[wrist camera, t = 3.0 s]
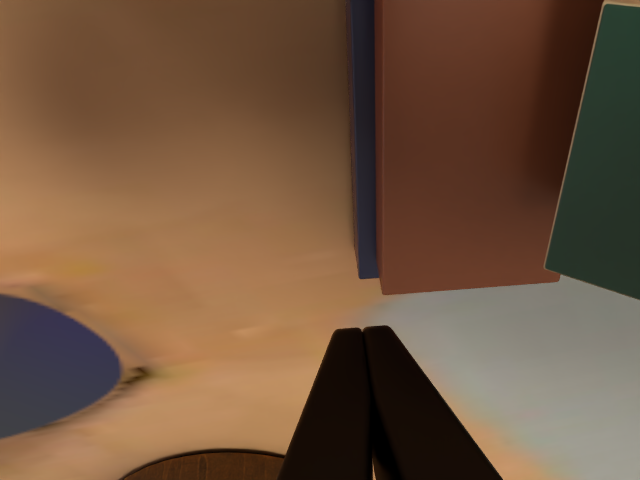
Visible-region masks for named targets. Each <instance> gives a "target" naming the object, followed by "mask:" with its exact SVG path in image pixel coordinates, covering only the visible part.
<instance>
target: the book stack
mask: <svg viewBox="0 0 640 480" xmlns="http://www.w3.org/2000/svg"><path fill="white" fill-rule="evenodd" d="M603 2H604V0H345V4H346V31H347V58H348V85H349V112H350V139H351V166H352V193H353V220H354V247H355V254H356V261H357V269H358V276H359V278H360V279H370V278H379V279H380V284H381V290H382V294H383V295H393V294H406V293H419V292H432V291H445V290H458V289H471V288H484V287H497V286H510V285H523V284H537V283H550V282H558V281H559V279H560V275H561V274H559V273H555V272H552V271H549V270H546V269H544V267H543V266H544V261H545V257H546V252H547V248H548V244H549V239H550V235H551V230H552V226H553V221H554V217H555V212H556V208H557V203H558V199H559V195H560V190H561V186H562V181H563V177H564V172H565V168H566V163H567V159H568V154H569V150H570V146H571V141H572V137H573V132H574V128H575V123H576V119H577V114H578V110H579V106H580V101H581V97H582V92H583V88H584V83H585V79H586V74H587V70H588V65H589V61H590V57H591V52H592V48H593V43H594V39H595V34H596V30H597V25H598V21H599V16H600V12H601V8H602V3H603Z"/></svg>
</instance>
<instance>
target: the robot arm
mask: <svg viewBox="0 0 640 480" xmlns="http://www.w3.org/2000/svg"><path fill="white" fill-rule="evenodd" d="M372 458H373V460H372ZM373 466H374V472H375V477H376V480H503V479H502V477H501V476H500V475H499V473H498V472H497V471H496V469H495V468H494V467H493V465H492V464H491V463H490V461H489V460H488V459H487V457H486V456H485V454H484V453H483V452H482V450H481V449H480V448H479V446H478V445H477V444H476V442H475V441H474V440H473V438H472V437H471V436H470V434H469V433H468V431H467V430H466V429H465V427H464V426H463V425H462V423H461V422H460V421H459V419H458V418H457V417H456V415H455V414H454V412H453V411H452V410H451V408H450V407H449V406H448V404H447V403H446V402H445V400H444V399H443V398H442V396H441V395H440V394H439V392H438V391H437V389H436V388H435V387H434V385H433V384H432V383H431V381H430V380H429V379H428V377H427V376H426V375H425V373H424V372H423V371H422V369H421V368H420V366H419V365H418V364H417V362H416V361H415V360H414V358H413V357H412V356H411V354H410V353H409V352H408V350H407V349H406V347H405V346H404V345H403V343H402V342H401V341H400V339H399V338H398V337H397V335H396V334H395V333H394V331H393V330H392V329H391V328H390V327H389V326H385V325H384V326H371V327H365V328H364V329H363V331H362V330H361V329H360V328H344V329H337V330H335V331H334V333H333V335H332V337H331V340H330V342H329V345H328V347H327V350H326V353H325V355H324V358H323V360H322V363H321V365H320V368H319V371H318V373H317V376H316V378H315V381H314V383H313V386H312V389H311V391H310V394H309V396H308V399H307V401H306V404H305V407H304V409H303V412H302V414H301V417H300V419H299V422H298V424H297V427H296V430H295V432H294V435H293V437H292V440H291V442H290V445H289V448H288V450H287V453H286V455H285V458H284V460H283V463H282V466H281V468H280V471H279V473H278V476H277V478H276V480H373Z"/></svg>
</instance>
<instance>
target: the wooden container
mask: <svg viewBox="0 0 640 480" xmlns="http://www.w3.org/2000/svg"><path fill="white" fill-rule="evenodd" d="M283 460H284V459H283V458H278V457H273V456H267V455H260V454H250V453H207V454H198V455H191V456H184V457H179V458H174V459H170V460H166V461H163V462H160V463H157V464H154V465H151V466H148V467H146V468H144V469H142V470H140V471H138V472H136V473H134V474H132V475H130V476H128V477H126V478H125V479H124V480H276V478H277V476H278V473H279V471H280V468H281V466H282V463H283Z"/></svg>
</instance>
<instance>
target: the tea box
mask: <svg viewBox="0 0 640 480" xmlns="http://www.w3.org/2000/svg"><path fill="white" fill-rule="evenodd" d="M543 267H544V269H546V270H549V271H552V272H555V273H559V274H562V275H565V276H568V277H571V278H574V279H577V280H580V281H583V282H586V283H589V284H592V285H595V286H598V287H601V288H604V289H607V290H610V291H613V292H616V293H619V294H622V295H625V296H628V297H632V298H635V299H638V300H640V0H604V2H603V3H602V8H601V12H600V16H599V21H598V25H597V30H596V34H595V39H594V43H593V48H592V52H591V57H590V61H589V65H588V70H587V74H586V79H585V83H584V88H583V92H582V97H581V101H580V106H579V110H578V114H577V119H576V123H575V128H574V132H573V137H572V141H571V146H570V150H569V154H568V159H567V163H566V168H565V172H564V177H563V181H562V186H561V190H560V195H559V199H558V203H557V208H556V212H555V217H554V221H553V226H552V230H551V235H550V239H549V244H548V248H547V252H546V257H545V261H544V266H543Z"/></svg>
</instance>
